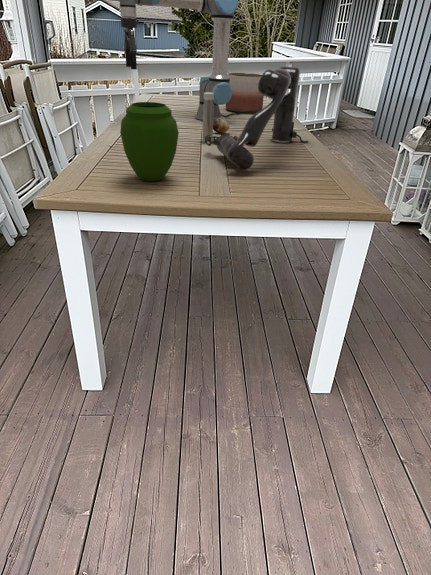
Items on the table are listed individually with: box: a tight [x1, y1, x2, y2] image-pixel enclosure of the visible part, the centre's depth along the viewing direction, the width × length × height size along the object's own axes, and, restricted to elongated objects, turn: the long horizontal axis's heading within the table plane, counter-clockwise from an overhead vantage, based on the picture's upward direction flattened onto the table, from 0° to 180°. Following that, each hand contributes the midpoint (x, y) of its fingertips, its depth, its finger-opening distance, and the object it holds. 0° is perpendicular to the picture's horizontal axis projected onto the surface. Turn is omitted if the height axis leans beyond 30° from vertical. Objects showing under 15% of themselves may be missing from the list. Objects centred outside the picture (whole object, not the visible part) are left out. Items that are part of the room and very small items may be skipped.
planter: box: [225, 72, 265, 113], centre depth 276 cm, size 25×25×22 cm
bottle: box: [201, 100, 214, 144], centre depth 192 cm, size 5×5×21 cm
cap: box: [204, 92, 214, 100], centre depth 187 cm, size 5×5×2 cm
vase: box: [119, 101, 179, 182], centre depth 140 cm, size 20×20×24 cm
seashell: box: [213, 116, 230, 134], centre depth 214 cm, size 10×6×8 cm, turn 97°
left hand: (131, 68), depth 208 cm, fingers open, 13 cm apart
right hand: (217, 136), depth 180 cm, fingers open, 8 cm apart
